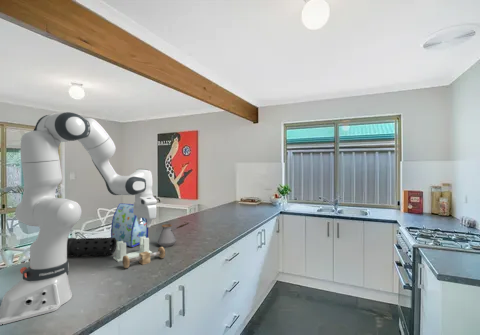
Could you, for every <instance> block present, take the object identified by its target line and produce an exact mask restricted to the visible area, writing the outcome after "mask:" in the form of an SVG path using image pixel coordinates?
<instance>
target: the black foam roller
mask: <svg viewBox="0 0 480 335" xmlns="http://www.w3.org/2000/svg"><path fill="white" fill-rule="evenodd" d="M116 251H117V242H116V239H115V238H111V237H90V238H89V237H87V238H85V237H84V238H83V237H82V238H81V237H79V238H76V237H68V241H67V257H68V256H73V257H74V256H76V257H81V256H92V257H93V256H96V257H97V256H113V254H114V253H115V252H116Z"/></svg>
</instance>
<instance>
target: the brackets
mask: <svg viewBox="0 0 480 335" xmlns="http://www.w3.org/2000/svg"><path fill="white" fill-rule="evenodd" d="M146 251H147V252H149V253H150V254H151V253H153V251H151V250H150V238H149V237H148V238H146V237H145V236H143V237H140V244H139V250H138V251H132V252H129V253H127V246H126V243H123V241H119V242H117V245H116V256H113V260H115V261H116V262H123V256H126V255H127V256H128V257H129V259H132V258H136V257H139V253H142V252H146Z"/></svg>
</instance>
